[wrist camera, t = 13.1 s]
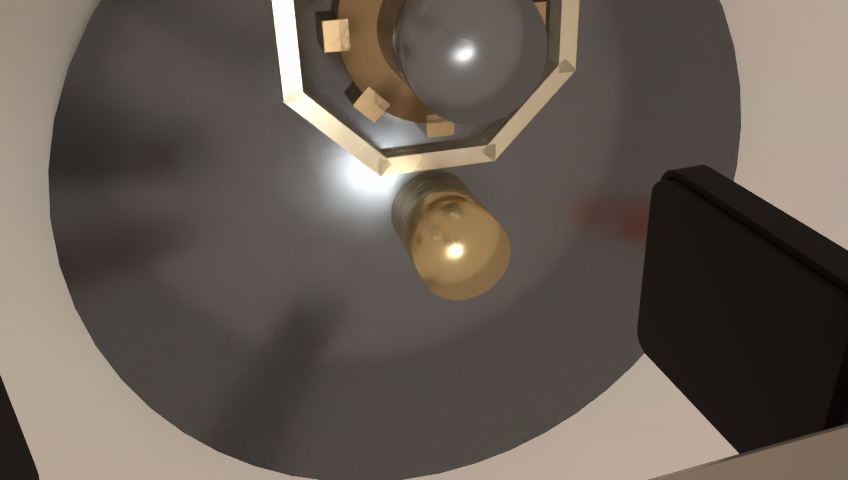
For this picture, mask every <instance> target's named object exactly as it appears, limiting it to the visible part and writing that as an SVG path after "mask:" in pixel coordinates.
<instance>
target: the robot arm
mask: <svg viewBox="0 0 848 480" xmlns="http://www.w3.org/2000/svg"><path fill="white" fill-rule="evenodd" d="M637 335H638V340H639V343H640V346H641V348H642V350H643V351H644V352H645V354H646V355H647V356H648V357H649V358H650V359H651V360H652V361H653V362H654V363H655V364H656V366H657V367H658V368H659V369H660V370H661V371H662V372H663V373H664V374H665V375H666V376H667V377H668V378H669V379H670V380H671V381H672V383H673V384H674V385H675V386H676V387H677V388H678V389H679V390H680V391H681V392H682V393H683V394H684V395H685V396H686V397H687V398H688V400H689V401H690V402H691V403H692V404H693V405H694V406H695V407H696V408H697V409H698V410H699V411H700V412H701V413H702V414H703V415H704V416H705V418H706V419H707V420H708V421H709V422H710V423H711V424H712V425H713V426H714V427H715V428H716V429H717V430H718V431H719V432H720V433H721V435H722V436H723V437H724V438H725V439H726V440H727V441H728V442H729V443H730V444H731V445H732V446H733V447H734V448H735V449H736V450H737V452H738V453H739V454H738V455H734V456H731V457H727V458H724V459H720V460H716V461H713V462H709V463H706V464H702V465H699V466H695V467H692V468H688V469H684V470H681V471H677V472H674V473H670V474H667V475H663V476H660V477H656V478H652V479H649V480H848V250H846V249H844V248H843V247H841V246H839V245H838V244H836V243H834V242H833V241H831V240H829V239H828V238H826V237H824V236H823V235H821V234H819V233H818V232H816V231H815V230H813V229H811V228H810V227H808V226H806V225H805V224H803V223H801V222H800V221H798V220H796V219H795V218H793V217H791V216H790V215H788V214H786V213H785V212H783V211H781V210H780V209H778V208H777V207H775V206H773V205H772V204H770V203H768V202H767V201H765V200H763V199H762V198H760V197H758V196H757V195H755V194H753V193H752V192H750V191H748V190H747V189H745V188H743V187H742V186H740V185H738V184H737V183H735V182H734V181H732V180H730V179H729V178H727V177H725V176H724V175H722V174H720V173H719V172H717V171H715V170H714V169H712V168H710V167H709V166H706V165H697V166H691V167H686V168H680V169H675V170H669V171H667V172H665V173H664V174H663V176H662V178H661V179H660V182H657V183H656V184H655V185H654V186H653V188H652V193H651V200H650V210H649V220H648V229H647V239H646V248H645V258H644V268H643V277H642V287H641V296H640V306H639V316H638V325H637ZM0 480H39V475H38V472H37V469H36V466H35V463H34V461H33V458H32V456H31V453H30V451H29V448H28V445H27V443H26V440H25V438H24V435H23V432H22V430H21V427H20V425H19V422H18V420H17V417H16V414H15V412H14V409H13V407H12V404H11V402H10V399H9V396H8V394H7V391H6V389H5V386H4V384H3V381H2V378H1V376H0Z"/></svg>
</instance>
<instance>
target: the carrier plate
mask: <svg viewBox="0 0 848 480" xmlns="http://www.w3.org/2000/svg"><path fill="white" fill-rule="evenodd" d="M544 1H546V20H545V28H546V33H547V58H546V62H545V67H544V70H543V73H542V76H541V78H540V80H539V82H538V84H537V86H536V87H535V89H534V90H533V92H532V93H531V95H530V96H529V97H528V98H527V100H526V101H525V102H524V103H523V104H522V105H521V106H520V107H518V108H517V109H516V110H515V111H513V112H512V113H510V114H509V115H507V116H505V117H503V118H501V119H499V120H497V121H494V122H491V123H488V124H482V125H461V124H456V123H454V135H448V136H440V137H432V138H427V137H426V136H425V135H424V134H423V132H422V131H421V130H420V129H419V128H418V127H417V125H416V124H415V122H412V121H407V120H403V119H401V118H398V117H395V116H393V115H391V114H389V113H387V112H384V113H383V114H382V115H381V116H380V117H379V119H378V120H377V121H376V122H375V123H373V122H372V121H371V120H370V119H369V118H367V117H366V116H365V115H364V114H362V113H361V112H360V111H359V110H357V109H356V108H355V107H354V106H353V105H352V104H351V102H350V101H349V99H348V98H347V96H346V95H345V93H344V92H345V90H346V89H347V88H348V87H349V86H350V84H351V83H352V82H353V80H352V78H351V77H350V76H349V74H348V73H347V71H346V70H345V68H344V66H343V65H342V63H341V61H340V59H339V57H338V54H337V52H327V53H325V52H324V51H323V49H322V48H321V46H320V45H319V43H318V42H317V33H316V23H315V12H318V11H330V10H331V0H101V2H100V3H99V5H98V6H97V8H96V9H95V11H94V13H93V15H92V17H91V18H90V21H89V23H88V25H87V27H86V30H85V32H84V34H83V36H82V39H81V41H80V43H79V45H78V48H77V50H76V52H75V54H74V57H73V59H72V61H71V63H70V66H69V68H68V71H67V75H66V78H65V82H64V86H63V89H62V93H61V97H60V100H59V104H58V108H57V111H56V115H55V119H54V126H53V135H52V144H51V153H50V161H49V170H48V171H49V195H50V219H51V224H52V229H53V234H54V239H55V244H56V249H57V254H58V259H59V265H60V268H61V270H62V273H63V276H64V279H65V281H66V284H67V287H68V290H69V292H70V295H71V298H72V300H73V303H74V306H75V308H76V310H77V312H78V314H79V316H80V318H81V319H82V321H83V323H84V325H85V327H86V328H87V330H88V332H89V334H90V336H91V338H92V339H93V341H94V343H95V345H96V346H97V348H98V349H99V350H100V352H101V353H102V354H103V356H104V357H105V358H106V360H107V361H108V362H109V364H110V365H111V366H112V367H113V369H114V370H115V371H116V373H117V374H118V375H119V377H120V378H121V379H122V380H123V381H124V382H125V383H126V384H127V385H128V386H129V387H130V388H131V389H132V390H133V391H134V392H135V393H136V394H137V395H138V396H139V397H140V398H141V399H142V400H143V401H144V402H145V403H146V404H147V405H148V406H149V407H150V408H151V409H153V410H154V411H155V412H157V413H158V414H159V415H161V416H162V417H163V418H165V419H166V420H167V421H169V422H170V423H172V424H173V425H174V426H176V427H177V428H178V429H180V430H181V431H182V432H184V433H186V434H187V435H189V436H191V437H193V438H195V439H196V440H198V441H200V442H202V443H204V444H205V445H207V446H209V447H211V448H213V449H215V450H216V451H218V452H221V453H223V454H226V455H228V456H231V457H233V458H236V459H238V460H241V461H243V462H246V463H248V464H251V465H253V466H257V467H261V468H265V469H268V470H272V471H276V472H280V473H284V474H287V475H291V476H298V477H305V478H312V479H319V480H403V479H409V478H415V477H420V476H426V475H432V474H438V473H442V472H446V471H449V470H453V469H457V468H460V467H464V466H467V465H471V464H474V463H478V462H480V461H483V460H485V459H488V458H490V457H493V456H496V455H498V454H501V453H503V452H506V451H509V450H511V449H513V448H515V447H517V446H519V445H521V444H523V443H525V442H527V441H529V440H531V439H533V438H535V437H537V436H539V435H541V434H543V433H545V432H547V431H548V430H550V429H551V428H553V427H555V426H556V425H558V424H559V423H561V422H563V421H564V420H566V419H568V418H569V417H571V416H572V415H574V414H576V413H577V412H578V411H580V410H581V409H582V408H583V407H585V406H586V405H587V404H589V403H590V402H591V401H593V400H594V399H595V398H597V397H598V396H599V395H601V394H602V393H603V392H605V391H606V390H607V389H608V388H609V387H610V386H611V385H612V384H613V383H615V382H616V381H617V380H618V379H619V378H620V377H621V376H622V375H623V374H624V373H625V372H626V371H628V370H629V369H630V368H631V367H632V366H633V365H634V364H635V363H636V362H637V360H638V359H639V358H640V357H641V356H642V355H643V354H644V353H645V352H644V351H643V350H642V348H641V346H640V343H639V340H638V335H637V325H638V316H639V306H640V296H641V287H642V277H643V268H644V258H645V248H646V239H647V229H648V220H649V210H650V200H651V193H652V188H653V186H654V185H655V184H656V183H657V182H660V179H661V178H662V176H663V174H664V173H665V172H667V171H669V170H675V169H680V168H686V167H691V166H697V165H706V166H709V167H710V168H712V169H714V170H715V171H717V172H719V173H720V174H722V175H724V176H725V177H727V178H729V179H730V180H732V181H734V176H735V172H736V167H737V159H738V149H739V140H740V130H741V110H740V83H739V77H738V70H737V63H736V57H735V50H734V45H733V42H732V38H731V35H730V31H729V28H728V24H727V21H726V18H725V14H724V11H723V7H722V5H721V3H720V1H719V0H544Z"/></svg>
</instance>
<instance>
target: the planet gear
mask: <svg viewBox="0 0 848 480" xmlns="http://www.w3.org/2000/svg"><path fill="white" fill-rule="evenodd" d="M545 20H546V1H544V0H331V10H330V11H318V12H315V23H316V33H317V42H318V43H319V45H320V46H321V48H322V49H323V51H324V52H325V53H327V52H337V54H338V57H339V59H340V61H341V63H342V65H343V66H344V68H345V70H346V71H347V73H348V74H349V76H350V77H351V78H352V80H353V82H352V83H351V84H350V86H349V87H348V88H347V89H346V90H345V92H344V93H345V95H346V96H347V98H348V99H349V101H350V102H351V104H352V105H353V106H354V107H355V108H356V109H357V110H359V111H360V112H361V113H362V114H364V115H365V116H366V117H367V118H369V119H370V120H371V121H372V122H373V123H375V122H376V121H377V120H378V119H379V117H380V116H381V115H382V114H383V113H384V112H387V113H389V114H391V115H393V116H395V117H398V118H401V119H403V120H407V121H412V122H415V124H416V125H417V127H418V128H419V129H420V130H421V131H422V132H423V134H424V135H425V136H426V137H427V138H432V137H440V136H448V135H454V123H456V124H461V125H482V124H488V123H491V122H494V121H497V120H499V119H501V118H503V117H505V116H507V115H509V114H510V113H512V112H513V111H515V110H516V109H517V108H518V107H520V106H521V105H522V104H523V103H524V102H525V101H526V100H527V98H528V97H529V96H530V95H531V93H532V92H533V90H534V89H535V87H536V86H537V84H538V82H539V80H540V78H541V76H542V73H543V70H544V67H545V62H546V58H547V33H546V28H545Z"/></svg>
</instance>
